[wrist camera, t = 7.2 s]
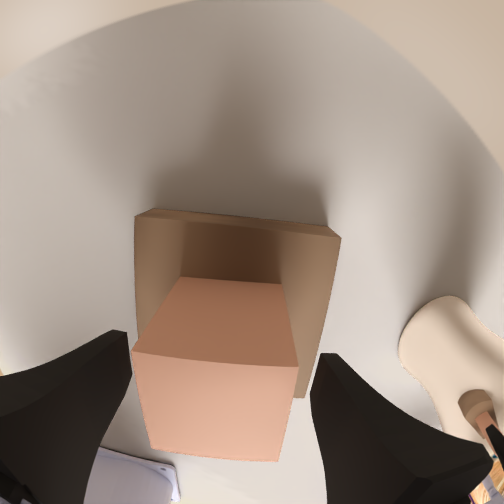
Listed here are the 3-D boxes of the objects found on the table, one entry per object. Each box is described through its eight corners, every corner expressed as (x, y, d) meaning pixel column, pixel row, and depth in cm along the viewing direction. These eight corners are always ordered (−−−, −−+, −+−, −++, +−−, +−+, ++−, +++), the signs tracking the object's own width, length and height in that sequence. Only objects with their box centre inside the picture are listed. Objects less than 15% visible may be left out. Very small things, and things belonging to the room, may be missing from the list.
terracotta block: (183, 359, 14) (151, 448, 9) (180, 276, 13) (130, 351, 7) (271, 366, 14) (278, 461, 9) (281, 284, 13) (299, 367, 7)
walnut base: (157, 350, 18) (142, 379, 15) (156, 207, 15) (134, 216, 12) (298, 366, 18) (304, 398, 15) (326, 225, 15) (341, 237, 13)
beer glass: (375, 376, 18) (460, 571, 3) (414, 281, 16) (594, 463, 1) (448, 376, 18) (541, 515, 3) (485, 294, 16) (627, 415, 2)
